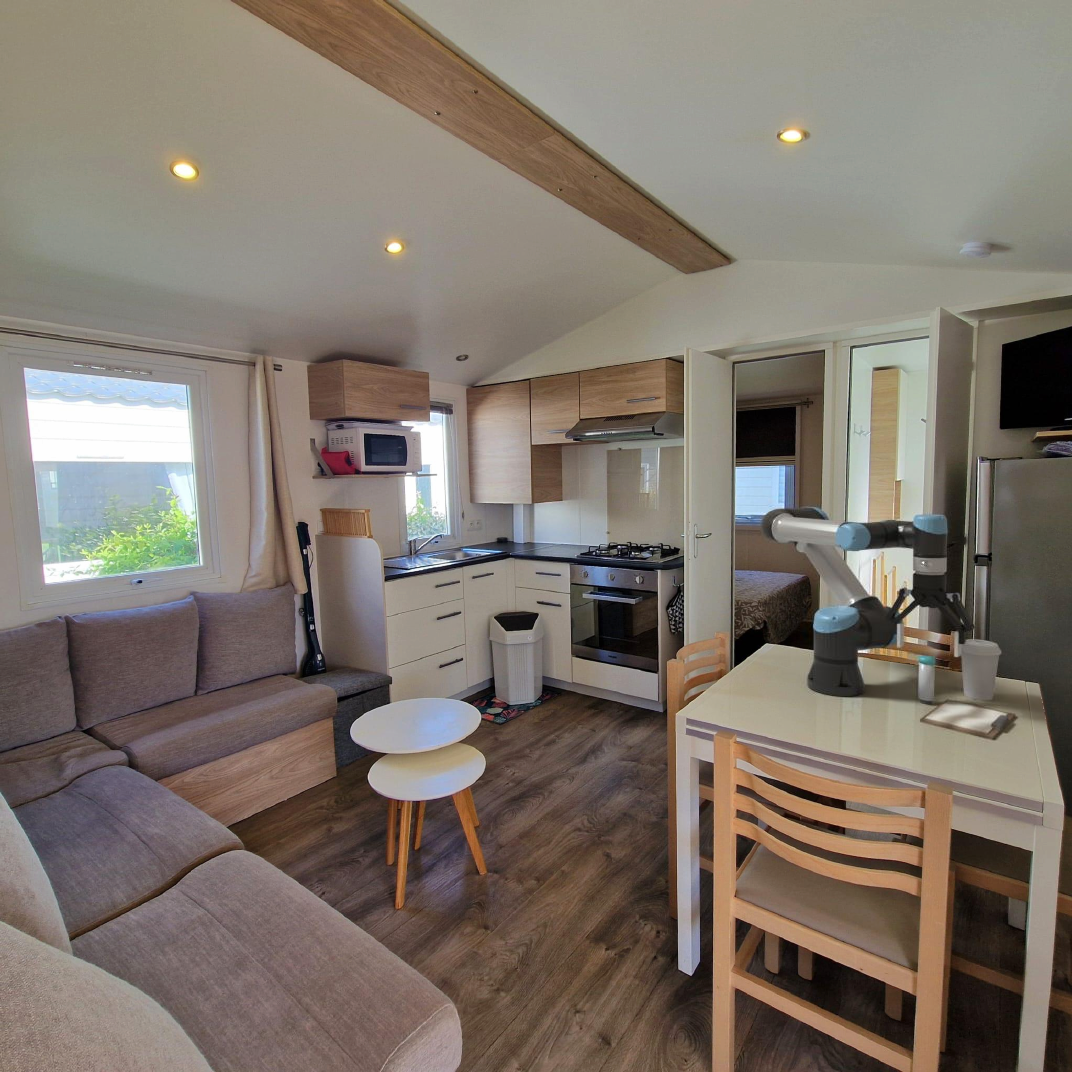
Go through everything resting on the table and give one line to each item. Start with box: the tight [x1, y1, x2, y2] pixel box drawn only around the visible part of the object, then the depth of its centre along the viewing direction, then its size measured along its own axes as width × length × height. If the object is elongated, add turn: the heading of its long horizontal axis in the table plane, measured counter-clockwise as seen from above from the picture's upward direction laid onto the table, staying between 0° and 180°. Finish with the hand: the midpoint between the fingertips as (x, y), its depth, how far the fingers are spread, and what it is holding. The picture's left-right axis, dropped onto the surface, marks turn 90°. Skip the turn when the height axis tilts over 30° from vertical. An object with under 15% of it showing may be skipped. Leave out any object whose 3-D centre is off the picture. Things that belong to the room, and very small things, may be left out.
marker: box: [917, 654, 936, 705], centre depth 165 cm, size 4×4×13 cm
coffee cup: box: [960, 638, 1002, 701], centre depth 168 cm, size 10×10×15 cm
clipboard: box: [919, 698, 1017, 741], centre depth 154 cm, size 15×20×2 cm
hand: (928, 651), depth 164 cm, fingers open, 13 cm apart
